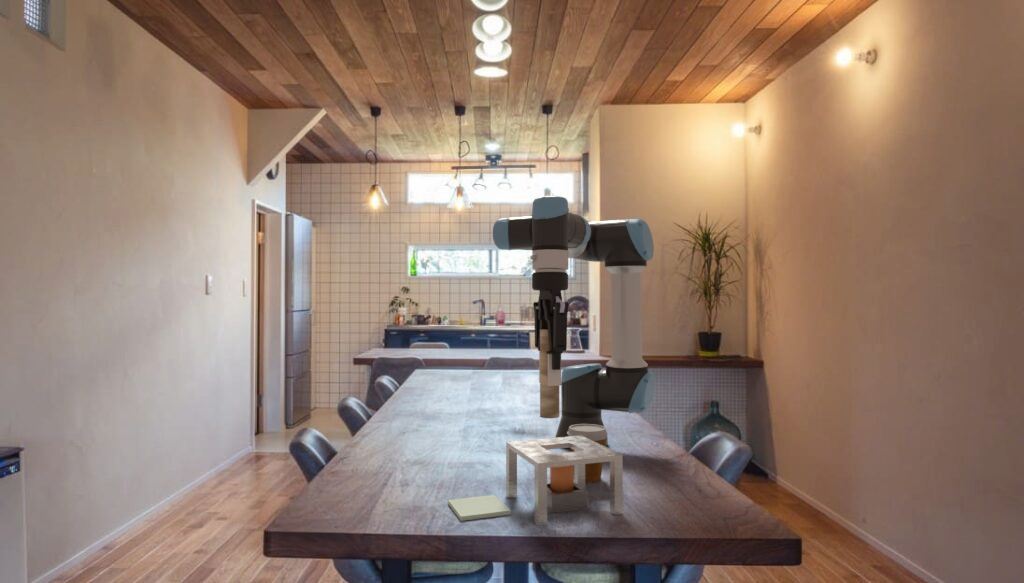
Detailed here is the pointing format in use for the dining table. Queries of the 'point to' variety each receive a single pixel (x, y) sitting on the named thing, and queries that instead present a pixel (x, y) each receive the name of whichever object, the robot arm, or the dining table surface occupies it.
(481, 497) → the pad
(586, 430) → the disposable coffee cup
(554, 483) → the button
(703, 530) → the dining table surface
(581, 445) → the stand
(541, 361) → the rod
